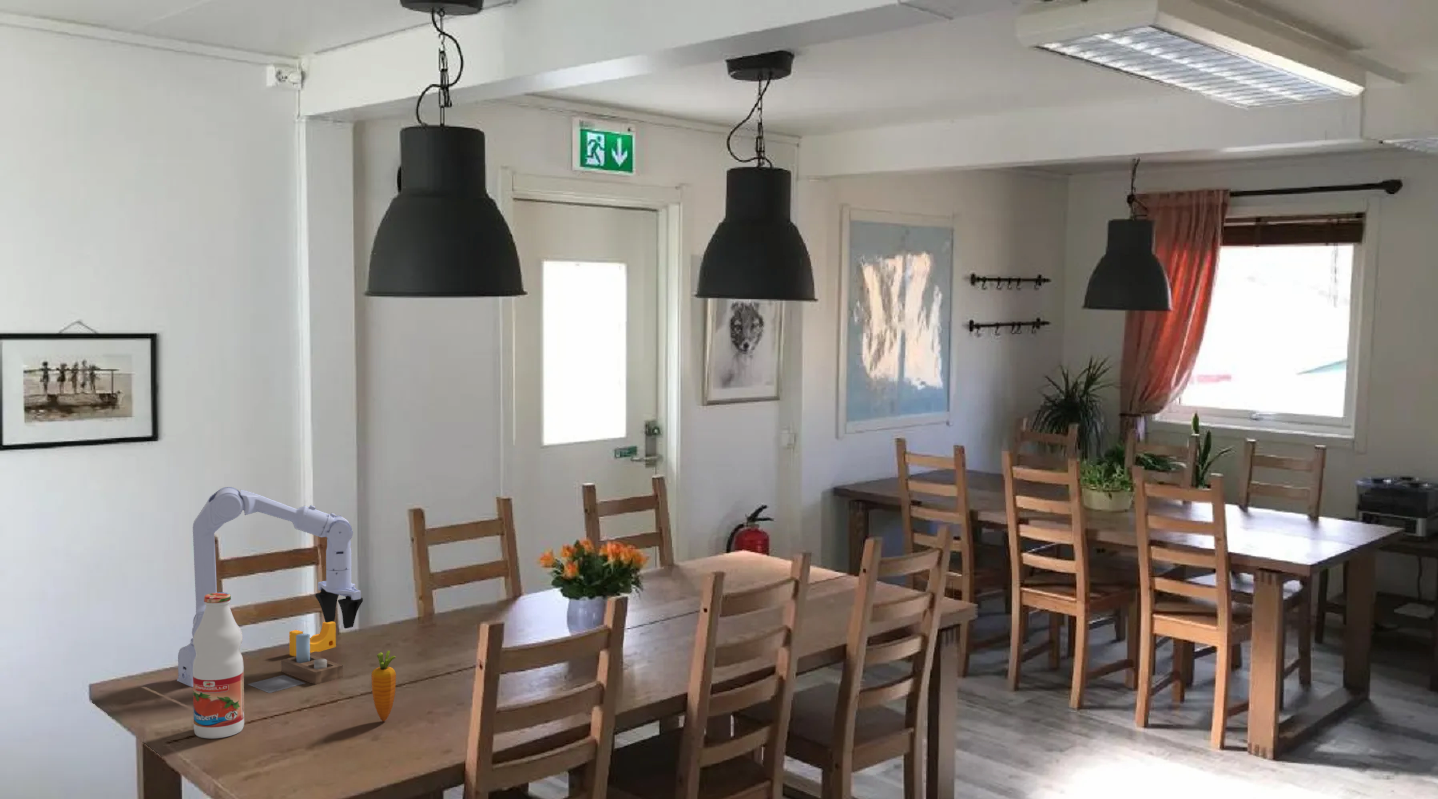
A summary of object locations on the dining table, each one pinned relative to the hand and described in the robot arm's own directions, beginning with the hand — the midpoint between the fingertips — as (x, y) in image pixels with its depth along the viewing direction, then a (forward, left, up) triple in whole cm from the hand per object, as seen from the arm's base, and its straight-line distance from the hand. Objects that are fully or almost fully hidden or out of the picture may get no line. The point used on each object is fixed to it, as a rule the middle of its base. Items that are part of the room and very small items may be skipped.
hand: (339, 624), depth 279 cm
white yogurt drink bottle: (-40, -18, -11) cm, 45 cm away
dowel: (-8, +3, -10) cm, 13 cm away
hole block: (-8, -1, -10) cm, 13 cm away
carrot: (-15, -38, -11) cm, 42 cm away
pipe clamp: (+3, +17, -11) cm, 20 cm away
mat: (-17, -1, -10) cm, 20 cm away
